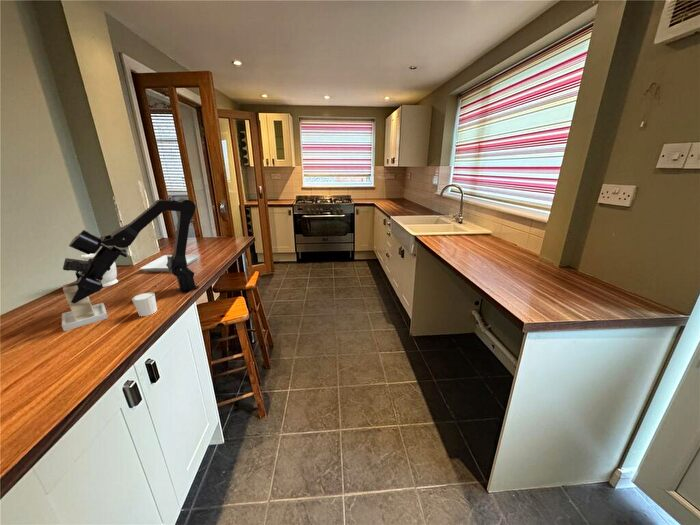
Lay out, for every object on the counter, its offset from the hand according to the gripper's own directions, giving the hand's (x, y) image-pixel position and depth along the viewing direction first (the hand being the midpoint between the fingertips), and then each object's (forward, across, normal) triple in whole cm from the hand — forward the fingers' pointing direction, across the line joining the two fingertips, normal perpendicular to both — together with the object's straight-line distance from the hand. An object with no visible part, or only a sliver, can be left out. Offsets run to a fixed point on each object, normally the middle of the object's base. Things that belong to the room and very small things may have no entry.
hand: (72, 298), depth 98 cm
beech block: (+4, 0, +6) cm, 8 cm away
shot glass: (-7, +12, +19) cm, 24 cm away
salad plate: (-21, -39, +34) cm, 55 cm away
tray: (+5, 0, +7) cm, 9 cm away
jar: (-1, -34, +13) cm, 37 cm away
